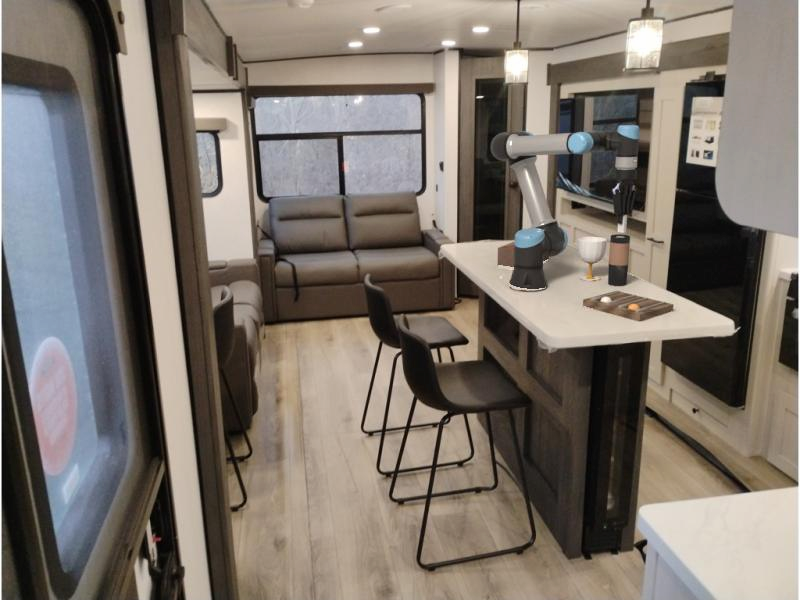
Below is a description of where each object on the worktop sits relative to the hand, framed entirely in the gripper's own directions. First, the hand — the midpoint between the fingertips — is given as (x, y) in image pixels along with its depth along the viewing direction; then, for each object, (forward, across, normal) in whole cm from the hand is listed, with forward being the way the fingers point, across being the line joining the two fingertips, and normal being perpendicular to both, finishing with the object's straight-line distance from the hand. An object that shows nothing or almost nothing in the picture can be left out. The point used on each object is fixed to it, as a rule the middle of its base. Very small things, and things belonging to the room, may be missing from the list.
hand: (621, 232), depth 245 cm
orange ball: (+22, -18, -20) cm, 35 cm away
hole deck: (+24, -13, -14) cm, 31 cm away
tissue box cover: (+25, +10, +60) cm, 66 cm away
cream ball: (+22, -17, -8) cm, 30 cm away
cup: (+25, +12, +23) cm, 36 cm away
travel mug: (+25, +13, +10) cm, 30 cm away
